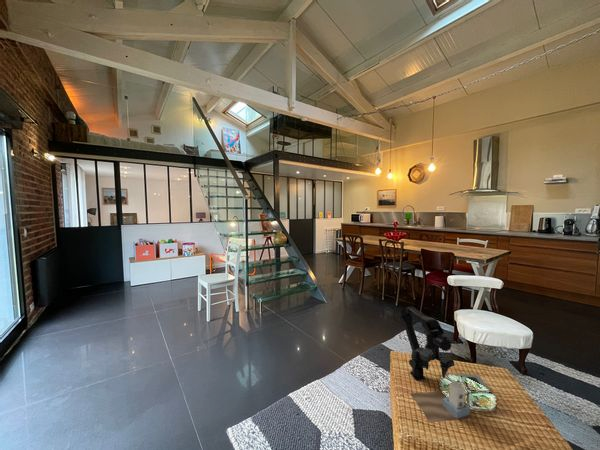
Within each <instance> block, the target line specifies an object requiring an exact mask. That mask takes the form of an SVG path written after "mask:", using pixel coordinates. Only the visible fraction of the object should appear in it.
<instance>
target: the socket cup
mask: <svg viewBox="0 0 600 450" xmlns="http://www.w3.org/2000/svg"><path fill="white" fill-rule="evenodd" d="M443 406H444V407H445V408H446V409H447V410H448V411H449V412H450V413H451V414H452V415H453V416H454V417H455V418H456V419H458V418H461V417H464V416H468V415H471V413H470V412H471V407H470V406H469V405H467V404H466V403H465V402H464V408H461V409H458V410H457V409H456V408H454V407H453V406H452V405H451V404H450V403H449V397H447V398H443Z"/></svg>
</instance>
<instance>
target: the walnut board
mask: <svg viewBox="0 0 600 450" xmlns="http://www.w3.org/2000/svg"><path fill="white" fill-rule="evenodd" d="M442 391H443V390H437V391H436V390H433V391H425V392H424V391H423V392H412V393H409V395H410V396H411V397H412V399H413V400H414V402H415V403H416V404H417V406H418V407H419V409H420V410H421V412H422V413H423V415H424V416H425V417H426V419H427V420H428V421H429V423H438V422H449V421H457V420H467V419H468V420H469V419H473V418H474V416H472V415H471V414H470V415H468V416H464V417H461V418H458V419H456V418H455V417H454V416H453V415H452V414H451V413H450V412H449V411H448V410H447V409H446V408H445V407H444V406H443V398H447V397H446V396H445V395H444V394H443V393H442Z"/></svg>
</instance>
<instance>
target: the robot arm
mask: <svg viewBox="0 0 600 450" xmlns="http://www.w3.org/2000/svg"><path fill="white" fill-rule="evenodd" d="M397 318H398V319H399V322H400V323H401V324H402V325H403V326H404V327H403V328H404V330H405V332H406V336H407V338H408V341H409V345H410V347H411V351H412V352H411V355H410V357H411V359H409V360H408V365H409V366H410V367H411V368H412V370H410V371H409V373H410V375H411V376H412V377H413V379H414V380H416V381H417V380H419V381H421V380H426V377H425V375H424V369H426V371H428V370H429V364H430V362H434V361H435V360H436V361H438V362H439V364H440V365H439V366H440V368H441V375H442V378H443V379H444V378H445V377H446V375H447V373H448V370H449V369H450V368H452V367H454V366H455V360H454V359H452V358H450V357H447V356H445V357H442V353H441V352H440V349H441V351H444V352H448V351H450V350H451V348H452V343H451V340H449V339H448V337H447V335H445V333H444V329H443V327H442V326H441V324H440V322H439V321H438V319H436V318H434V317H430V316H427V315H425V314H423V313H422V312H421V311H420V310H419V309H417V308H416V307H415V306H406V307H405V308H403V309H401V310H399V311H398V312H397ZM414 319H416V321H417V322H420V324H421V327H422V328H423V329H424V330H423V333H425V336H426V344H425V346H424V347H421V345H420V343H419V341H418V338H417V335H416V332H415V327H414V326H413V321H414Z"/></svg>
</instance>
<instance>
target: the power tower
mask: <svg viewBox="0 0 600 450" xmlns="http://www.w3.org/2000/svg"><path fill="white" fill-rule="evenodd" d="M465 390H466V388H465V387H464V386H463V385H462V384H461V383H460V382H458V381H453V382H450V383H449V389H448V391H449V403H450V404H451V405H452V406H453V407H454V408H456V409H457V410H458V409H461V408H464V403H465Z"/></svg>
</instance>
